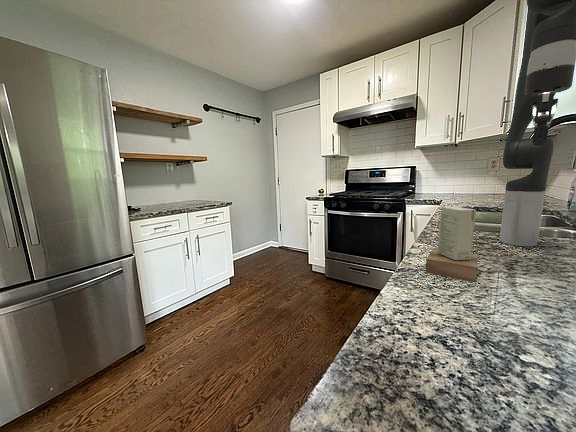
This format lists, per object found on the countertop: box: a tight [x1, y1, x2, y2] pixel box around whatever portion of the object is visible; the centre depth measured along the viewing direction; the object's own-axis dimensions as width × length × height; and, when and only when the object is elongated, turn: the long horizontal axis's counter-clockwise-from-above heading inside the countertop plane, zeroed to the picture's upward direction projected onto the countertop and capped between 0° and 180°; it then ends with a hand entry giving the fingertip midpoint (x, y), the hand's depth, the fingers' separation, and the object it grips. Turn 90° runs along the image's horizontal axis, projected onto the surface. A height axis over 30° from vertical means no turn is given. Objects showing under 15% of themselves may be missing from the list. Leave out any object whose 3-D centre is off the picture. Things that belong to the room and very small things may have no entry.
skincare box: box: [437, 206, 477, 260], centre depth 61 cm, size 6×4×12 cm
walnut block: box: [425, 248, 479, 283], centre depth 62 cm, size 10×10×4 cm
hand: (539, 144), depth 58 cm, fingers open, 8 cm apart
